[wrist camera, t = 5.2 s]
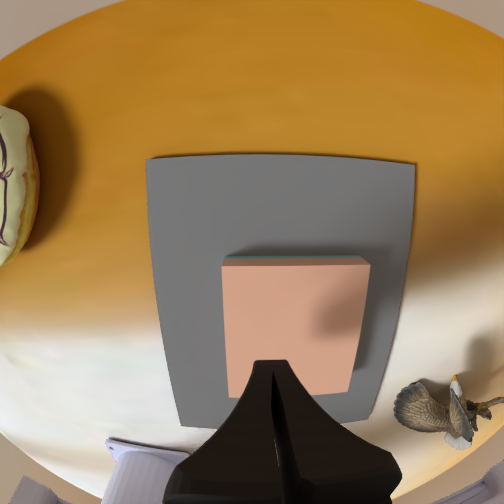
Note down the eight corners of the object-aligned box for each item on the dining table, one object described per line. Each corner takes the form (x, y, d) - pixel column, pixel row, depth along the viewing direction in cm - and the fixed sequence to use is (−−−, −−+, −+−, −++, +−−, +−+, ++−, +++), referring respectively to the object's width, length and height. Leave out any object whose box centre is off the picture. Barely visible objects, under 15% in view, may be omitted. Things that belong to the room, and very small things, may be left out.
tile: (230, 380, 17) (341, 375, 17) (228, 397, 15) (347, 391, 15) (224, 256, 15) (359, 255, 15) (221, 266, 13) (370, 264, 13)
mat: (366, 415, 19) (368, 419, 18) (182, 422, 19) (181, 425, 18) (411, 164, 14) (414, 165, 13) (148, 159, 14) (145, 159, 13)
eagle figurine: (500, 356, 16) (455, 359, 14) (514, 430, 12) (469, 461, 10) (439, 388, 22) (379, 394, 20) (447, 452, 17) (385, 475, 15)
